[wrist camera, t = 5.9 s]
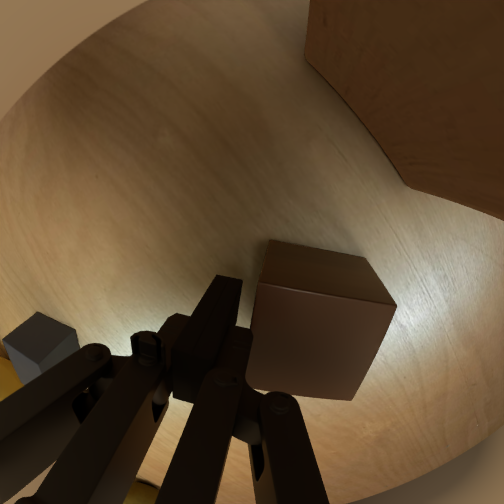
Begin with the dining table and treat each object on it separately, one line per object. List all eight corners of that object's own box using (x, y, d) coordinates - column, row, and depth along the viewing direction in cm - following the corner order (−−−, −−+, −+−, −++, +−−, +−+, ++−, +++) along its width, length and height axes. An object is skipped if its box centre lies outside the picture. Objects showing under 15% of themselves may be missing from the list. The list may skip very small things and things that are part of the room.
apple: (173, 497, 35) (163, 524, 28) (138, 486, 36) (126, 511, 29) (160, 483, 32) (147, 513, 26) (122, 471, 34) (108, 498, 27)
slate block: (37, 311, 22) (1, 339, 17) (75, 329, 22) (37, 364, 16) (50, 353, 24) (21, 382, 19) (87, 372, 24) (58, 408, 18)
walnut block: (269, 239, 16) (257, 281, 11) (365, 257, 16) (398, 305, 10) (254, 323, 18) (239, 386, 13) (339, 337, 18) (351, 401, 12)
